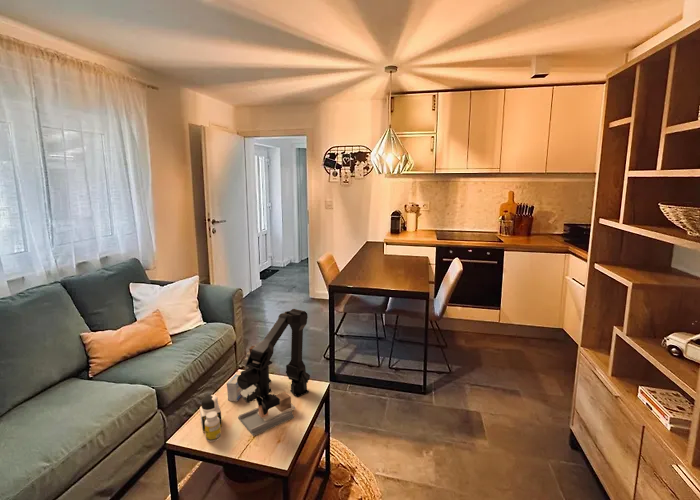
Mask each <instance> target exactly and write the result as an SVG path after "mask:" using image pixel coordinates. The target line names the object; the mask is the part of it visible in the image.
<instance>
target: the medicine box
mask: <svg viewBox="0 0 700 500" xmlns="http://www.w3.org/2000/svg"><path fill="white" fill-rule="evenodd" d="M239 375H240V374H235V375H234V376H233V377H231V379H229V381H228V382H227V383H226V389H227V401H229V402H230V401H231V402H238V401H239V400H240V398H241V397H242V395H241V391H243V389H241V388H240V387H239V385H238V383H237V379H238V376H239Z"/></svg>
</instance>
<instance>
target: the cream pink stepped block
mask: <svg viewBox="0 0 700 500" xmlns="http://www.w3.org/2000/svg"><path fill="white" fill-rule="evenodd" d="M257 408H258V410H259V412H257V413H258V415H259V416H260V417H261V418H262V419H263V420H264V421H265V422H266V421H269V420H271V419H273V418H276V417H278V416H280V415H282V414H285V413H287V412H290V411H293V410H296V406H295V405H293V403H291V408H288V409H286V410H284V411H281V412H280V411H279V410H278V409H277V408H276V407H272V408H270V409H269V410H268V412H267V414H265V415H264V414H263V409H262V406H261V405H260V406H257Z"/></svg>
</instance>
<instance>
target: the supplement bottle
mask: <svg viewBox="0 0 700 500" xmlns="http://www.w3.org/2000/svg"><path fill="white" fill-rule="evenodd" d="M204 433H205V440H206V441H207V442H211V443H213V442H216V441H218V440H220V438H221V437H222V433H221V427H220V419H219V417H217V412H215V411H212V412H209V413H207V414H206V420H205V432H204Z"/></svg>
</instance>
